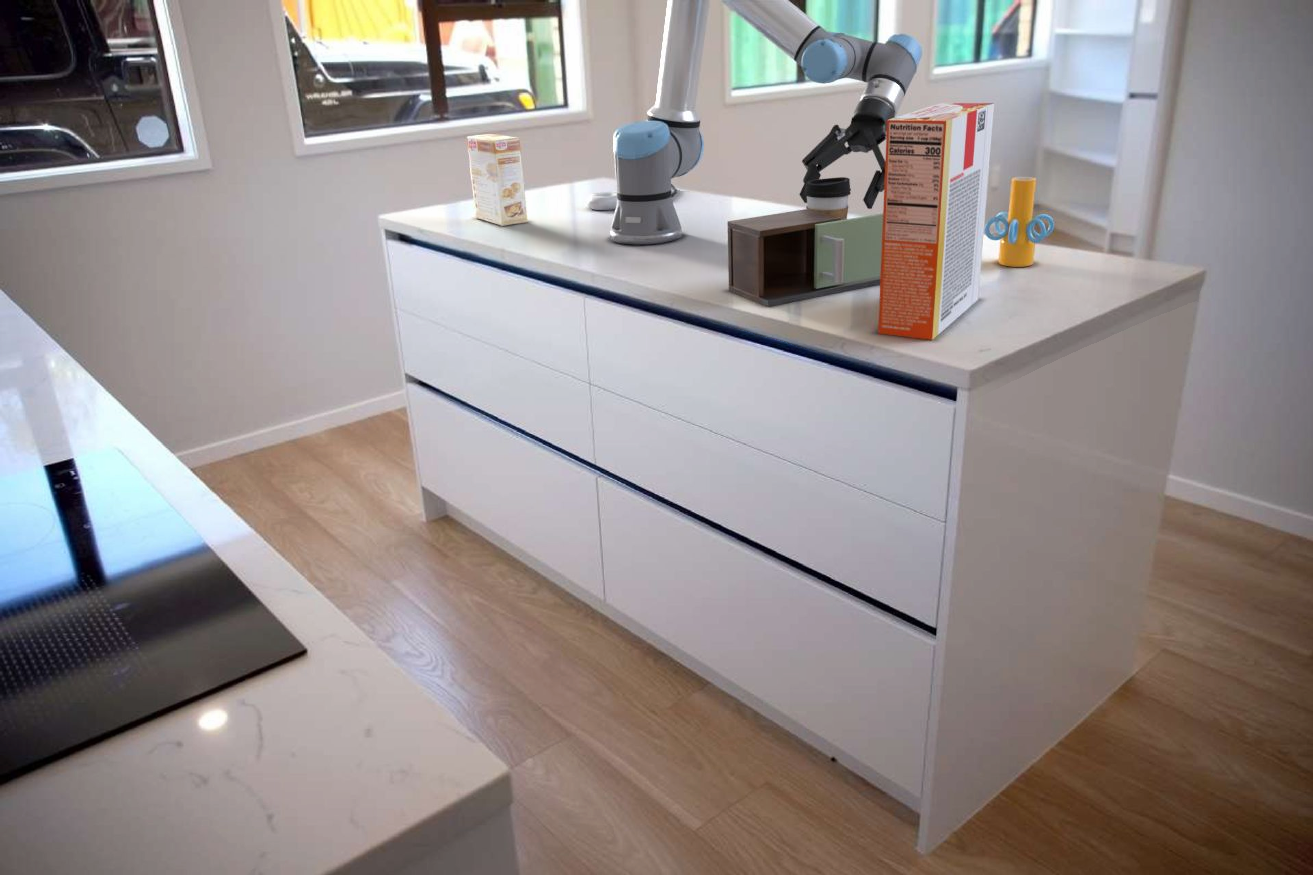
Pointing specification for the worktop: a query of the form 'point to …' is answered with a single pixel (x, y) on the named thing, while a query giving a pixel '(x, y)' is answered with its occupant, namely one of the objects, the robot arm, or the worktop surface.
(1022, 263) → the cylinder
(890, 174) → the cereal box
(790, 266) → the cabinet
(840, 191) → the coffee cup
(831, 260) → the door
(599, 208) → the donut
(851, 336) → the worktop surface
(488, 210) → the coffeecake box
